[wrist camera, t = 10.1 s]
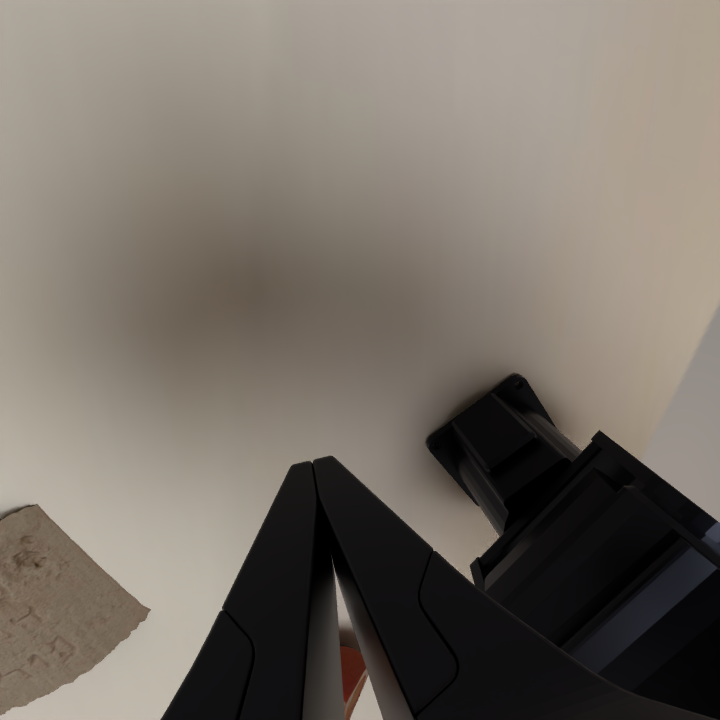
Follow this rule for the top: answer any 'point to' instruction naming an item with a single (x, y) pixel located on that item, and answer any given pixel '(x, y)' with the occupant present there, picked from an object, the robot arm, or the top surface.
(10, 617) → the clay tablet
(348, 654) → the fruit slice
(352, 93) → the top surface
